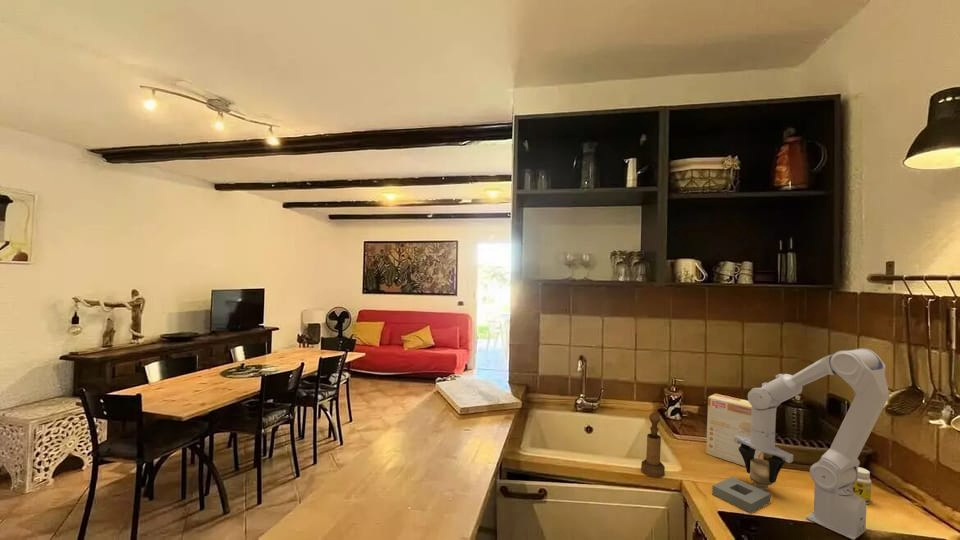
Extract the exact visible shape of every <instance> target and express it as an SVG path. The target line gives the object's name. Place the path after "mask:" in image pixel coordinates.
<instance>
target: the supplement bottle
mask: <svg viewBox="0 0 960 540" xmlns="http://www.w3.org/2000/svg"><path fill="white" fill-rule="evenodd" d="M858 474H859V477H858V480H857V481H856V482H855V483H852V488H853V493H854V494H856V495H857V496H859V497H861V498H863V499H864V500H865V501H866V505H869V504H870V503H871V497H872V496H871V495H872V479H871V478H870V477H871V476H870V475H871V471H869V470H868V469H866V468H864V467H860V466H858Z"/></svg>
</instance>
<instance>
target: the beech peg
mask: <svg viewBox="0 0 960 540" xmlns="http://www.w3.org/2000/svg"><path fill="white" fill-rule="evenodd" d="M769 476H770V467H769V461H768V460H765V459H763V460H762V459H757V458H753V459H751V460H750V473H749V480H750V481H752V482H753V485H754V487H757V488H759V489H761V490H763V491H766V490H767V489H768V488H769V486H771V485H773V483H770V481H769ZM766 492H767V491H766Z"/></svg>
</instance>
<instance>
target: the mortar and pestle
mask: <svg viewBox="0 0 960 540" xmlns="http://www.w3.org/2000/svg"><path fill="white" fill-rule="evenodd" d="M648 417H649V421H650V423H651V426H650V427H649V429H650V433H648V434H647V435H646V455H645V456H646V458H645V459H644V460H642V461H641V465H640V466H641V467H640V470H641V472H642V473H643V474H645V475H646V476H649V477H652V478H662V477H664V476H665V471H666V466H665V465H664V464H663V463H662V462H661V448H662V447H661V446H662V445H661V444H662V442H661V441H662V437H661V435H659V434H658V433H659V428H658V424H659V423H660V420H661V416H660V415H659V414H658V413H656V412H651V413H650V415H649V416H648Z"/></svg>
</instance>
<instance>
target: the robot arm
mask: <svg viewBox="0 0 960 540" xmlns="http://www.w3.org/2000/svg"><path fill="white" fill-rule="evenodd" d="M886 368H887V365H885V363H884V361H883V360H882V359H881V357H880V356H879V355H878V353H876V352H874V351H873V350H871V349H869V348H861V347H860V348H855V349H851V350H838V351H836V352H835V353H833V354H830V355H829V354H828V355H826V356H824V357H822V358H820V359H819V360H817V361H814V363H812V364H810V365H808V366H807V367H805V368H803V369H801V370H799V371H798V372H796V373H794V374H789V373H778V374H777V375H775V379H773V380H771V381H769V382H766V381H765V382H763V383H761V387H753V388H751V390H750V391H748V393H747V401H749V403H750V404H751V405H752V414H751V439H750V438H746V437H742V436H739V435H737V436H734V443H736V444H741V446H740V447H739V451H740V453H741V455H742V457H743V459H744V462H745V466H746V467H745V466H744V467H745V469H746V473H747V474H750V460H751V459H753V458H754V455H755V450H758V451H761V452H763V454H766V455H769V456H772V457H768V459H767V461H768V462H769V467H770V476H769V481H770V483H772V484H774V483H776V482H777V479H778V475H779V473H780V471H781V469H782V468H783V466H784V465H785V464H786V463H788V464H790V463H792V462H794V454H792V453H789V452H788V451H785V450H783V449H782V448H779V447H777V446H775V445H776V444H775V443H776V424H777V423H776V422H777V421H776V419H777V408H778V407H779V406H780V405H781V403H783V402H785V401H788V400H790V399H792V398H794V397H795V396H798V395H800V394H802V392H803V386H806V385H808V384H810V383H812V382H814V381H817V380H819V379H821V378H825V377H826V376H828V375H831V376H835V375H838V376H839V377H840V378H841V380H843V381H844V382H845V383H847V384H848V386H850V387H851V389H852V390H853V391H854V393H855V396H854V398H853V399H852V402H851V404H850V406H849V408H848V411H847V412H846V414H845V417H844V419H843V420H842V423H841V424H840V426H839V429H838V430H837V433H836V435H835V436H834V439H833V441H832V443H831V445H830V448H828V449H827V451H826V452H824V453H823V454H822V455H821V457H820V459H819V460H818V461H817V462H815V463H813V464H811V466H810V469H809V475H810V477H811V480H812V481H813V482H814V495H813V496H814V498H813V512H811V513H809V514H808V515H807V516H806V520H808V521H812V522H813V523H815V524H817V525H818V526H821V527H824V528H827V529H828V530H830V531H833V532H836V533H837V534H839V535H840V536H841V535H842V536H844V537H846V538H848V539H851V540H856V539H858V538H859V537H860V536H861V535H862V534H864V533H865V532H866V531H867V528H866V526H867V525H866V524H867V523H866V522H867V504H866V501H865V500H864V499H863V498H861V497H859V496H857V495H856V494H854V493H853V488H852V483H855V482H856V481H857V480H858V477H859V474H858V467H860V464H861V462H860V460H859V456H860V454H861V452H862V451H863V449H864V447H865V444H866V443H867V440H868V439H869V437H870V434H871V432H872V431H873V429H874V427H875V425H876V423H877V421H878V419H879V418H880V415H881V413H882V412H883V410H884V407H885V406H886V403H887V401H888V399H889V396H890V391H889V386H888V382H887V379H886Z"/></svg>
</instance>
